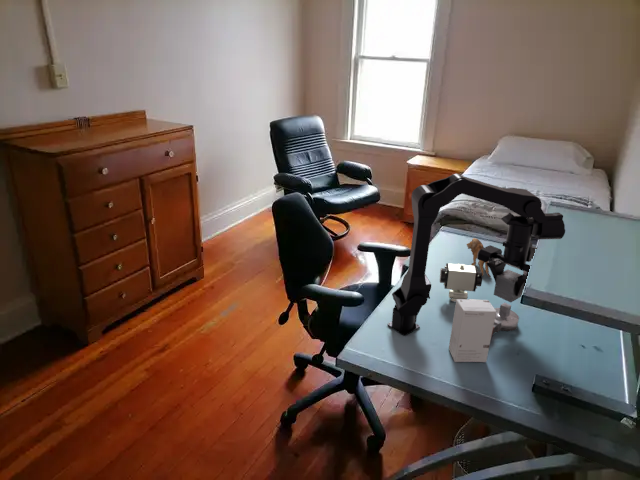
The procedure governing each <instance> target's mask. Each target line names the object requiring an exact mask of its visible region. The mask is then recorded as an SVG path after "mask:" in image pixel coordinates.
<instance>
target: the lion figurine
mask: <svg viewBox="0 0 640 480" xmlns="http://www.w3.org/2000/svg"><path fill="white" fill-rule="evenodd" d="M466 247H467V249H468V250H470V251H471V254H472V255H473V258H472V260H473V262H472V263H471V265H470V266H477V265H476V264H478V265H479V269H480V272H482V277H483V276H484V271H485V273H486V275H487V277H489V278H491V277H492V276H491V275H490V273H489V271H490V268H489V266H487V265H486V264H487V263H488V261H487V262H483V261H481V260H479V259H477V254H478V251H479V250H480V249H482V248H485V246H484V245H483V243H482V241H480V240H479V239H478V238H475V237H474V238H472V239H471V240H470V241H469V242H468V243H466ZM477 260H478V263H477ZM484 265H485V266H484ZM484 267H485V269H484Z"/></svg>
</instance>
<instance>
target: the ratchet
mask: <svg viewBox="0 0 640 480" xmlns="http://www.w3.org/2000/svg"><path fill="white" fill-rule="evenodd" d="M494 309H495V310H496V316H495V321H494V326H493V330H492V336H491V338H492V337H493V336H494V334H496V333H498V332H500V331H501V332H508V333H509V332H513V331H515V330H517V329H518V323H519V320H520V317H519V315H518V313H516V312H515V311H513V310H511V309H512V304H509V303H507V302H503V303H502V304H500V306H499V307H494Z"/></svg>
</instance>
